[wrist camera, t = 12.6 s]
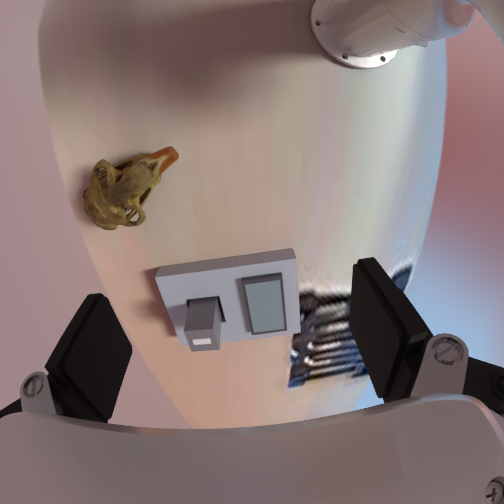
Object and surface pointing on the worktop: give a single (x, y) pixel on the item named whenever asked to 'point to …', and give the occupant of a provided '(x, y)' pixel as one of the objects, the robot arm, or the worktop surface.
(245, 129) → the worktop surface
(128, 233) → the worktop surface
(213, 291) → the dock board
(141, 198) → the animal skull
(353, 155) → the worktop surface
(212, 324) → the block
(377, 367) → the robot arm
